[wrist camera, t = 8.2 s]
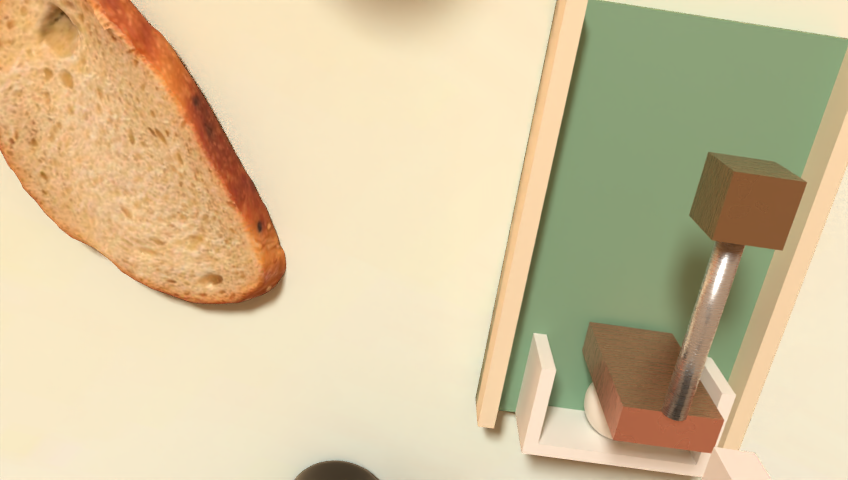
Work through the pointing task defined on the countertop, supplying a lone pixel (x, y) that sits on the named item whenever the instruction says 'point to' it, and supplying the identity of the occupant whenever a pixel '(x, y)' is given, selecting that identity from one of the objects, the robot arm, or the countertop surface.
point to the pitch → (654, 211)
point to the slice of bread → (129, 151)
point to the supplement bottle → (335, 472)
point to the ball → (595, 412)
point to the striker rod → (659, 351)
